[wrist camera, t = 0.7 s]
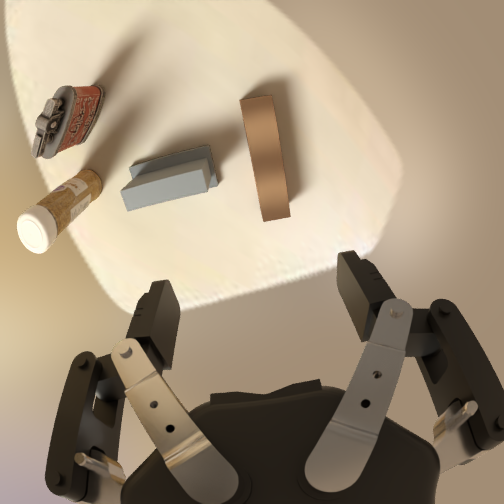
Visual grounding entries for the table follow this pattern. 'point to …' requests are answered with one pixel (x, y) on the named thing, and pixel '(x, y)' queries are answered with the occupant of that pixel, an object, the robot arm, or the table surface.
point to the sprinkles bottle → (57, 211)
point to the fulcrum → (170, 178)
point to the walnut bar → (266, 156)
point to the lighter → (67, 119)
